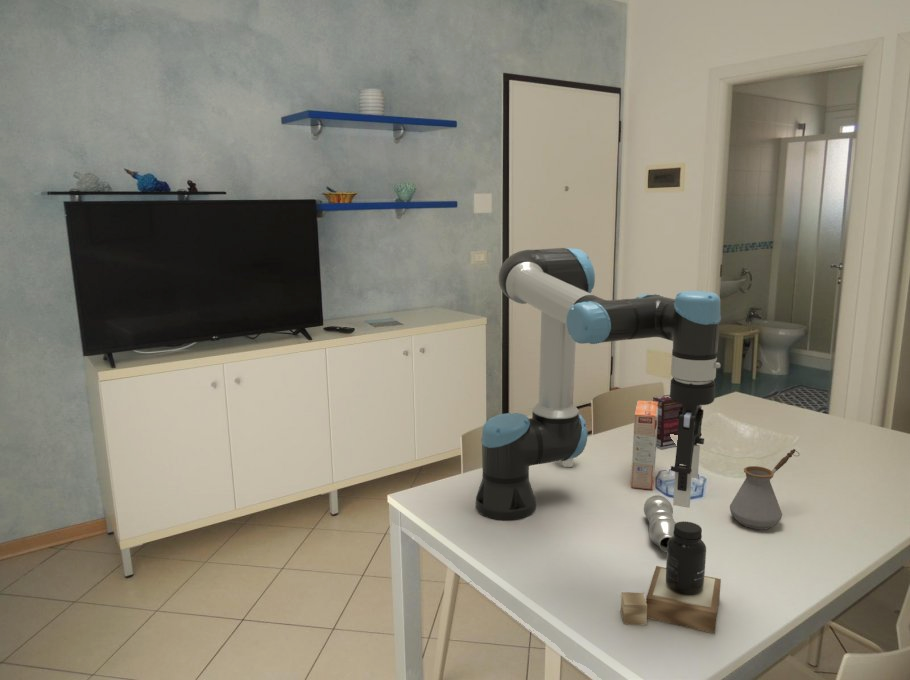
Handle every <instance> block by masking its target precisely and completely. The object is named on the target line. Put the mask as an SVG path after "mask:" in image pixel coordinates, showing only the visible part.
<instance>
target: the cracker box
mask: <svg viewBox="0 0 910 680" xmlns="http://www.w3.org/2000/svg"><path fill="white" fill-rule="evenodd" d="M657 426H658V402H655V401H653V400H637V404H636V407H635V412H634V422H633V438H632V439H633V441H632V459H631V460H632V461H631V479H630V480H631V481H630V484H631V485H630V487H631V488H634V489H640V490H641V489H643V490H649V491H650V490H653V485H654V480H655V479H654V478H655V471H656V470H655V469H656V459H657V457H656V455H657V447H656V444H657Z"/></svg>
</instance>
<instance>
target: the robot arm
mask: <svg viewBox="0 0 910 680" xmlns="http://www.w3.org/2000/svg"><path fill="white" fill-rule="evenodd" d="M595 283H596V275H595V269H594V265H593V263H592V261H591V259H590V257H589V256H588V255H587V253H586V252H585V251H584V250H582V249H580V248H573V247H572V248H571V247H570V248H569V247H557V248H542V249H524V250H520V251H519V250H518V251H517V252H514V253H512V254H511V255H510V256H509V257H507V258H506V259H505V261H504V262H503V263H502V264H501V266H500V269H499V271H498V284H499V287H500V289H501V291H502V293H503V294H504V295H505V296H506V297H507V298H508V299H510V300H512V301H513V302H514V303H517V304H521V305H523V304H525V305H526V304H528V305H530V306H532V307H534V308H535V309H538V310H539V311H541V312H540V314H541V315H540V342H539V343H540V344H539V345H540V348H539V349H540V350H539V351H540V352H539V379H538V380H539V384H538V389H539V390H538V402H537V403H536V404H535V405H534V406H533V407H532V417H531V418H529V417H528V416H527V415H526V414H523V413H518V412H514V413H511V412H506V413H500V414H497V415H494V416H492V417H490V418H489V419H487V420H486V421H485V422H484V424H483V425H482V426H483V427H482V431H481V432H482V435H481V439H480V440H481V441H480V442H481V457H482V459H481V460H482V461H481V462H482V466H481V467H482V476H481V477H482V478H481V481H480V485H479V488H478V490H477V494H476V496H475V507H476V508H475V509H476V510H477V512H478V513H480V514H481V515H482V516H484V517H487V518H488V519H489V518H490V519H494V520H499V521H501V520H502V521H514V520H520V519H524V518H527V517H528V516H531V515H532V514H534V512H535V511H536V507H537V505H536V501H537V499H536V496H535V493H534V490H533V486H532V484H531V480H530V477H529V476H530V475H529V474H530V470H529V469H530V466H531V467H532V466H536V465H541V464H549V463H554V462H555V463H556V462H563V461H566V460H568V459H571V458H573V459H575V458H577V457H579V456H580V455H581V454H582V453H583V452H584V451H585V448H586V446H587V442H588V428H587V426H586V425H587V422H586V420H585V418H584V417H583V415H582V414H580V413H579V412H580V410H579V409H578V408H577V406H575V404H574V389H575V387H574V386H575V368H576V367H575V365H576V343H578V344H590V345H597V344H600V343H608V342H618V341H627V340H637V339H638V340H639V339H648V338H649V339H650V338H661V339H665V340H668V341H672V350H671V351H672V352H671V365H670V376H671V377H672V378H671V380H670V385H669V386H670V388H669V389H670V390H669V391H670V392H669V395H670V398H671V399H672V400H673V401H675V402H677V403H681V404H683V407H680V411H679V413H678V420H679V424H678V440H677V446H676V452H675V458H674V459H675V461H674V462H675V463H674V465H673V466H671V465H670V471H671V472H674V485H673V503H672V506H677V507H682V508H687V509H688V508H690V507H691V496H692V495H691V493H692V478H693V479H698V478H699V467H700V466H699V465H700V451H701V445H705V438H704V437H703V438H702V436H703V435H702V425H703V419H704V409H702V408H703V407H702V406H709V405H711V404H713V403H714V402H715V397H716V382H715V381H714V380H715V379H716V377H717V369H720V368H721V363H720V362H717V360H718V352H719V351H718V349H719V348H718V347H719V337H720V325H721V321H722V316H721V298H720V295H718V294H717V293H715V292H711V291H702V290H686V291H683V290H682V291H680V292H677V293H676V295H675V298H670V297H667V296H666V297H665V296H662V295H660V294H648V293H647V294H646V293H645V294H640V295H639V296H636V297H635V298H625V299H624V298H622V299H611V300H609V299H603V298H601V297H599V296H596V295H595V294H593V293H592V292H593V289H594V288H595V285H596V284H595Z"/></svg>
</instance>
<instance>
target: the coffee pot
mask: <svg viewBox="0 0 910 680" xmlns="http://www.w3.org/2000/svg"><path fill="white" fill-rule="evenodd" d="M795 452H796V453H797V454H798V455H797V457H799V456H800V455H801V454H800V452H799V451H797V450H796V449H794V448H793V449H791V450H790V451H789V452H787V454H786V455H785V456H784V457H782V458H781V459H780V460H779V462H777V464H776V465H775V466H774V468H773V469H772V470H771V469H769V468H767V467H764V466H755V465H752V466H751V465H749V466H746V467H744V468H743V472H744V473H745V477H746V478H745V479H744V481H743V482H742V484H741V486H740V487H739V489H738V490H737V492H736V494H735V496H734V498H733V500H732V501H731V502H730V504H729V511H730V513H731V515H732V516H733V517H734V519H735V520H737V522H738V523H740V524H741V525H742V526H744V527H747V528H750V529H753V530H754V529H755V530H766V529H767V530H768V529H770V528H772V527H773V526H775V525H777V524H778V523H780V521H781V520H782V517H783V512H782V509H781V506H780V505H779V501H778V499H777V496H776V493H775V491H774V488H773V486H772V482H771V479H772V478H774V475H775V473H776V472H778V470H780V468H782V467H784V465H785V464H786V463H787V462H788V461H789V459H790V458H793V456H794V457H796V455H795Z"/></svg>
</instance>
